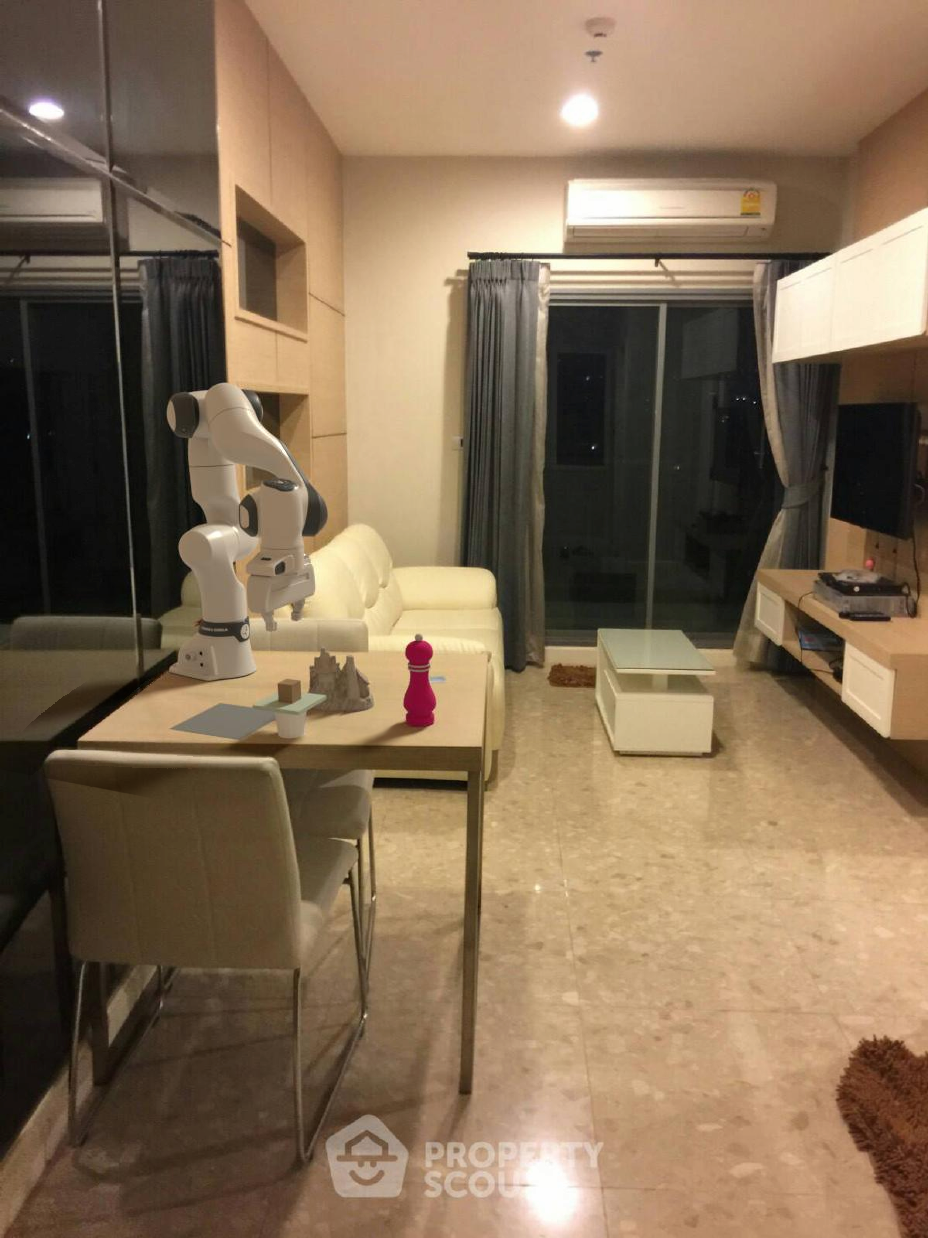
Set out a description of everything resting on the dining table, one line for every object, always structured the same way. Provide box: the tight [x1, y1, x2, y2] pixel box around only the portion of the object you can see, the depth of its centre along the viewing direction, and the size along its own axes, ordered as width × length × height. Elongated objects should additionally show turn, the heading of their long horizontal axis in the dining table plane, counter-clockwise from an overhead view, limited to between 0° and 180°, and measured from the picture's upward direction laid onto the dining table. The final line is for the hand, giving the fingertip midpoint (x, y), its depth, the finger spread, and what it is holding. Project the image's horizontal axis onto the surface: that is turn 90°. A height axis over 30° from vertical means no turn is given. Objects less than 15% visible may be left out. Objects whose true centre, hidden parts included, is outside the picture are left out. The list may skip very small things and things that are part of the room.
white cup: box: [275, 711, 307, 739], centre depth 194 cm, size 7×7×7 cm
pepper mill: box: [402, 633, 437, 728], centre depth 200 cm, size 7×7×20 cm
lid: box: [251, 678, 327, 715], centre depth 192 cm, size 11×11×5 cm
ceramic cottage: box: [307, 646, 375, 713], centre depth 215 cm, size 16×16×15 cm
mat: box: [169, 702, 276, 741], centre depth 202 cm, size 18×18×1 cm
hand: (284, 625), depth 192 cm, fingers open, 8 cm apart
